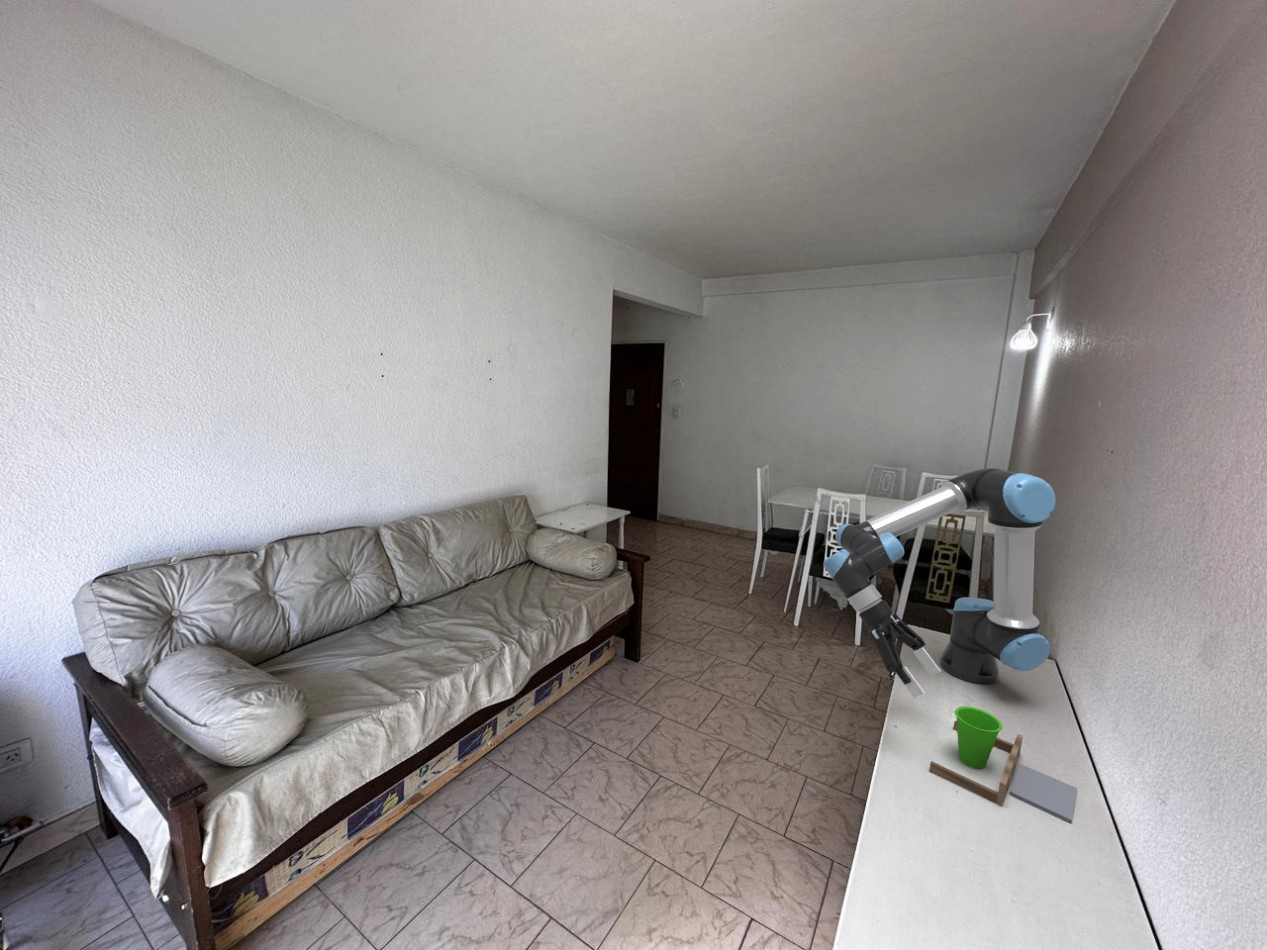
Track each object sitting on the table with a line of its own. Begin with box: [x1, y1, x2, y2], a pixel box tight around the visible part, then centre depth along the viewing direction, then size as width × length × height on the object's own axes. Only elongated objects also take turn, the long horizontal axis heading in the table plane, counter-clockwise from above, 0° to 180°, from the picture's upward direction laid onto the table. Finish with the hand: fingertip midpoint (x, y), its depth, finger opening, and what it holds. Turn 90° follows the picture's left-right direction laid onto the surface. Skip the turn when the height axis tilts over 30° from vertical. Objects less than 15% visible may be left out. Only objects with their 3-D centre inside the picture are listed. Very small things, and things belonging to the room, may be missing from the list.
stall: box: [929, 720, 1024, 807], centre depth 115 cm, size 22×14×5 cm, turn 135°
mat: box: [1009, 763, 1078, 824], centre depth 107 cm, size 12×10×1 cm
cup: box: [954, 705, 1003, 770], centre depth 115 cm, size 9×9×11 cm
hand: (928, 684), depth 121 cm, fingers open, 13 cm apart
